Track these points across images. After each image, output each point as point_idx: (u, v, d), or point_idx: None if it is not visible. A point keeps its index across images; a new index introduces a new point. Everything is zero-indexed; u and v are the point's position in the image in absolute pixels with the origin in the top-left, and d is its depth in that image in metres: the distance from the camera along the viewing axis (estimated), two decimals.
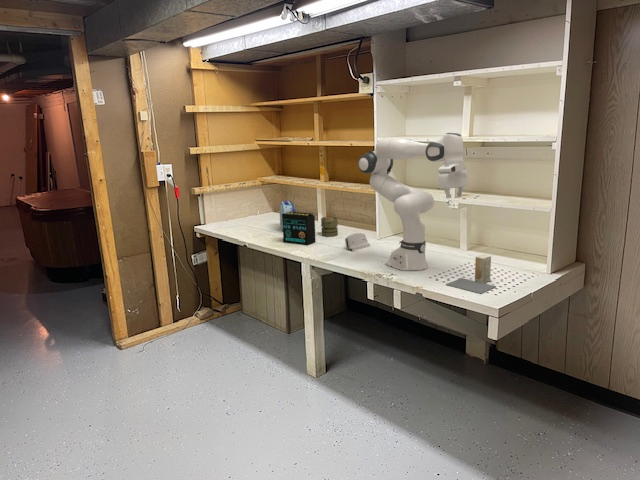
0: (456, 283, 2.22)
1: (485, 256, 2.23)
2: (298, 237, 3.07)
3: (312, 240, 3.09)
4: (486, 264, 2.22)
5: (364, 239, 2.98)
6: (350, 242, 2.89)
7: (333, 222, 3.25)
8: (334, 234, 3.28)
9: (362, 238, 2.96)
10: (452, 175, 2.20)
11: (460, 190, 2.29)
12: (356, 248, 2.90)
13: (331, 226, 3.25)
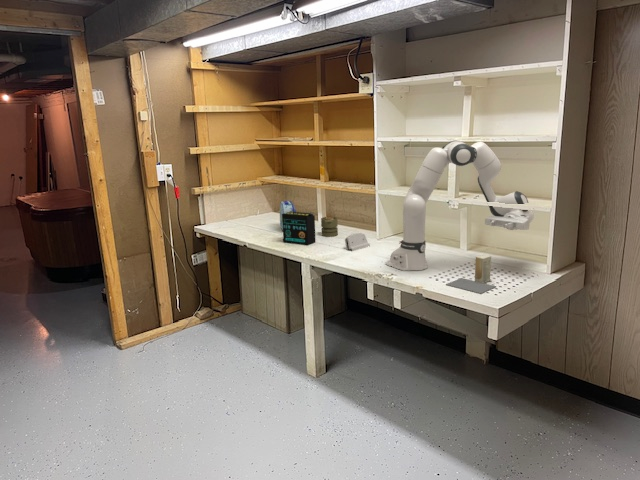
0: (456, 283, 2.22)
1: (485, 256, 2.23)
2: (298, 237, 3.07)
3: (312, 240, 3.09)
4: (486, 264, 2.22)
5: (364, 239, 2.98)
6: (350, 242, 2.89)
7: (333, 222, 3.25)
8: (334, 234, 3.28)
9: (362, 238, 2.96)
10: None
11: None
12: (356, 248, 2.90)
13: (331, 226, 3.25)
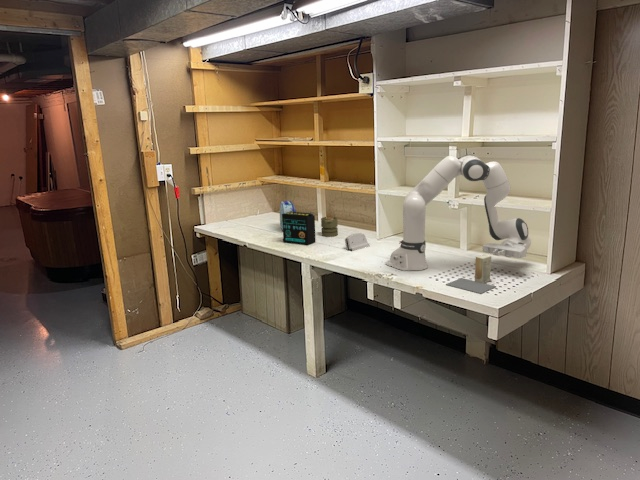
0: (456, 283, 2.22)
1: (485, 256, 2.23)
2: (298, 237, 3.07)
3: (312, 240, 3.09)
4: (486, 264, 2.22)
5: (364, 239, 2.98)
6: (350, 242, 2.89)
7: (333, 222, 3.25)
8: (334, 234, 3.28)
9: (362, 238, 2.96)
10: None
11: None
12: (356, 248, 2.90)
13: (331, 226, 3.25)
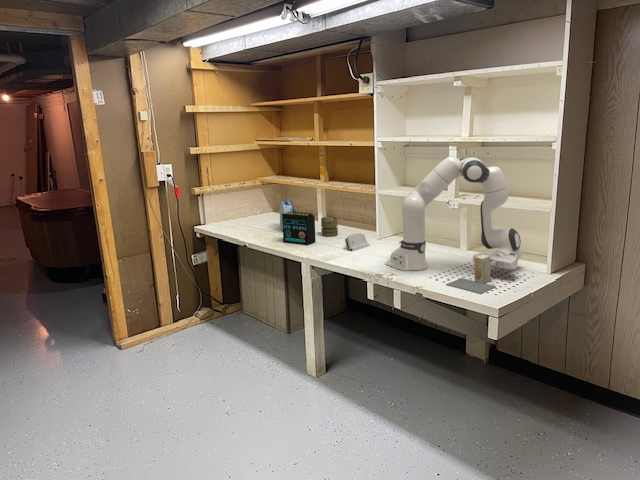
0: (456, 283, 2.22)
1: (484, 256, 2.22)
2: (298, 237, 3.07)
3: (312, 240, 3.09)
4: (486, 264, 2.22)
5: (364, 239, 2.98)
6: (350, 242, 2.89)
7: (333, 222, 3.25)
8: (334, 234, 3.28)
9: (361, 238, 2.97)
10: None
11: None
12: (356, 248, 2.90)
13: (331, 226, 3.25)
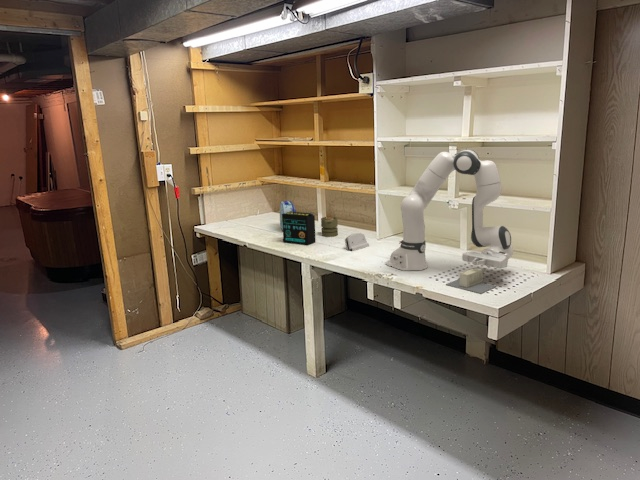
0: (456, 283, 2.22)
1: (464, 279, 2.16)
2: (298, 237, 3.07)
3: (312, 240, 3.09)
4: (471, 280, 2.17)
5: (363, 238, 2.98)
6: (350, 242, 2.89)
7: (333, 222, 3.25)
8: (334, 234, 3.28)
9: (361, 238, 2.97)
10: None
11: None
12: (356, 248, 2.90)
13: (331, 226, 3.25)
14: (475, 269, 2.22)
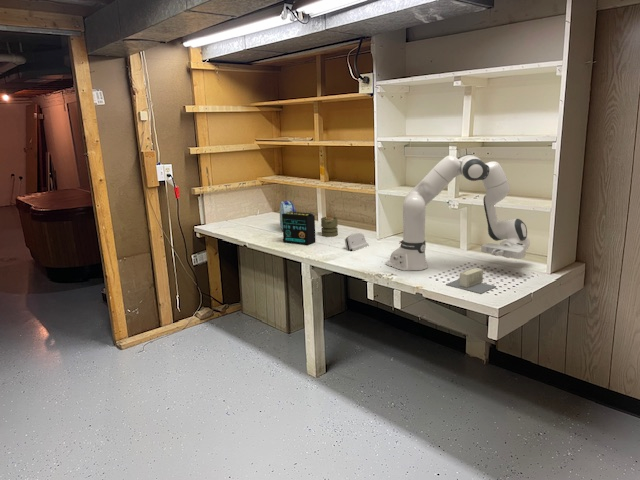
0: (456, 283, 2.22)
1: (464, 279, 2.16)
2: (298, 237, 3.07)
3: (312, 240, 3.09)
4: (471, 280, 2.17)
5: (363, 238, 2.98)
6: (350, 242, 2.89)
7: (333, 222, 3.25)
8: (334, 234, 3.28)
9: (361, 238, 2.97)
10: None
11: None
12: (356, 248, 2.90)
13: (331, 226, 3.25)
14: (475, 269, 2.22)
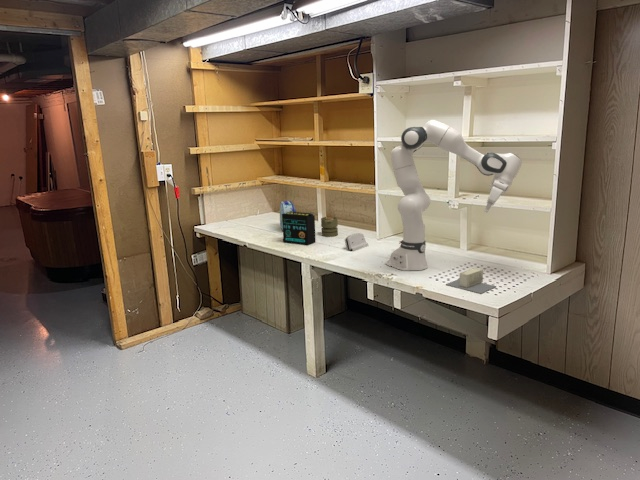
0: (456, 283, 2.22)
1: (464, 279, 2.16)
2: (298, 237, 3.07)
3: (312, 240, 3.09)
4: (471, 280, 2.17)
5: (363, 238, 2.98)
6: (350, 242, 2.89)
7: (333, 222, 3.25)
8: (334, 234, 3.28)
9: (361, 238, 2.97)
10: None
11: None
12: (356, 248, 2.90)
13: (331, 226, 3.25)
14: (475, 269, 2.22)
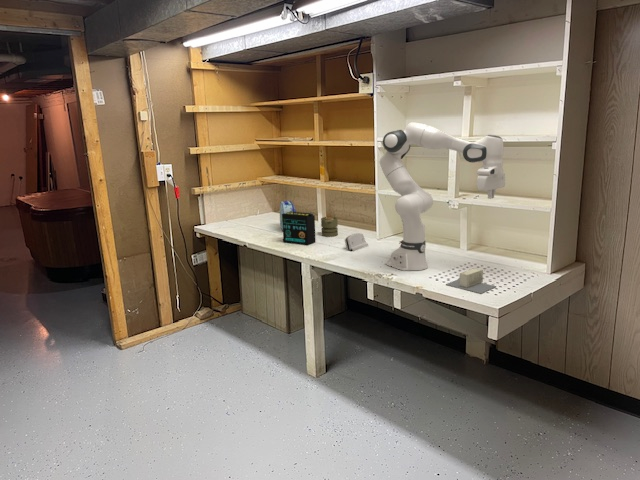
0: (456, 283, 2.22)
1: (464, 279, 2.16)
2: (298, 237, 3.07)
3: (312, 240, 3.09)
4: (471, 280, 2.17)
5: (362, 238, 2.98)
6: (350, 242, 2.89)
7: (333, 222, 3.25)
8: (334, 234, 3.28)
9: (360, 238, 2.97)
10: (491, 177, 2.25)
11: (493, 192, 2.31)
12: (356, 248, 2.90)
13: (331, 226, 3.25)
14: (475, 269, 2.22)
